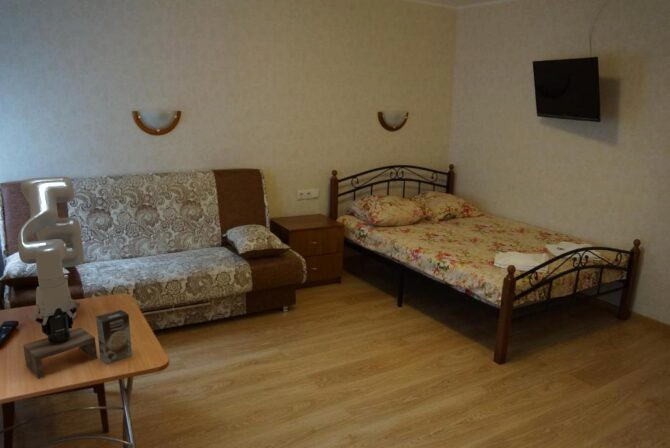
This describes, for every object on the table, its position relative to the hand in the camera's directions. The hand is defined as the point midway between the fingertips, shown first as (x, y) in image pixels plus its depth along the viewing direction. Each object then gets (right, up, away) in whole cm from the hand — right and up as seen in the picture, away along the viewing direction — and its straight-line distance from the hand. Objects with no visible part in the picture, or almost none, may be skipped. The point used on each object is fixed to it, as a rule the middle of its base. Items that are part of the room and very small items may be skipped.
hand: (58, 330), depth 174 cm
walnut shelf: (0, -12, +3) cm, 12 cm away
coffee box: (+17, -11, +6) cm, 22 cm away
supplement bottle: (0, -3, +1) cm, 3 cm away
